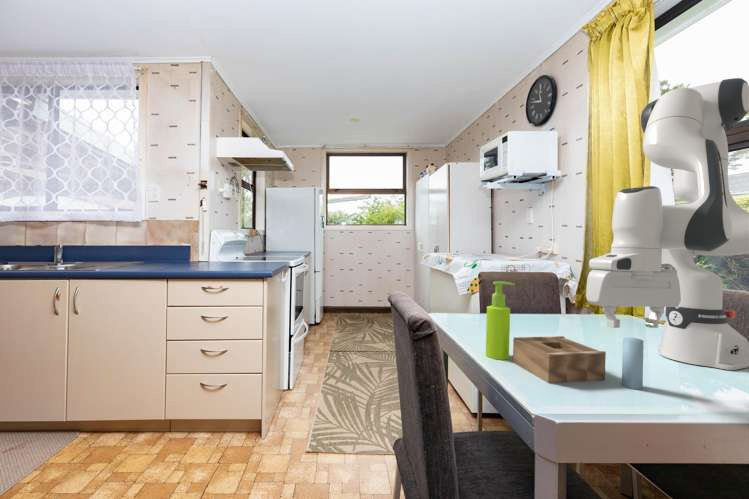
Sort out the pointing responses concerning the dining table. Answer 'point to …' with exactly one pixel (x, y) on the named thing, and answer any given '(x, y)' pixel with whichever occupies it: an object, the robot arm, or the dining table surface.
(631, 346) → the dowel
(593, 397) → the dining table surface
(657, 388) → the dining table surface
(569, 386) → the dining table surface
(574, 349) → the socket block
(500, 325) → the soap dispenser
